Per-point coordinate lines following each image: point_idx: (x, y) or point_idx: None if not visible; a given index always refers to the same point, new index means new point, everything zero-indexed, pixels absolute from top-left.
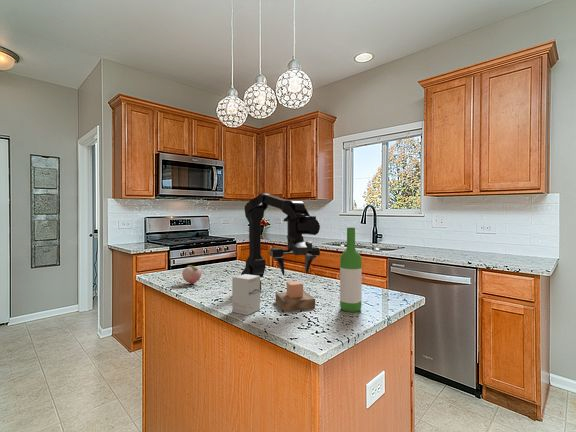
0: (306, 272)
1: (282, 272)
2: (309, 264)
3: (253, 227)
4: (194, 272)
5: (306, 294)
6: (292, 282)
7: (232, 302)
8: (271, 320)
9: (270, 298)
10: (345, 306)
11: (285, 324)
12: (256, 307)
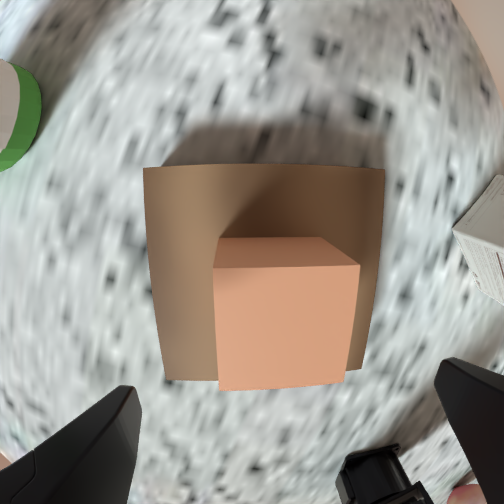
0: (126, 394)
1: (476, 371)
2: (32, 464)
3: None
4: (474, 501)
5: (171, 298)
6: (304, 350)
7: None
8: (434, 71)
9: (343, 394)
10: (28, 75)
11: (387, 5)
12: (477, 213)
